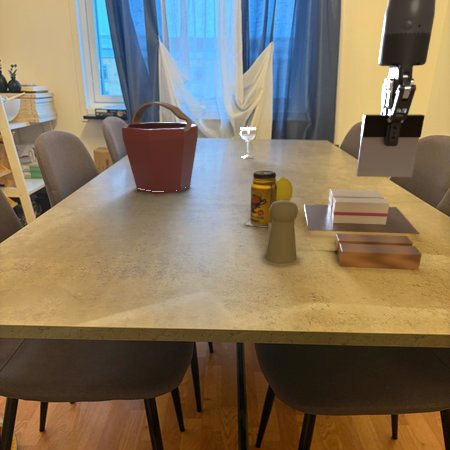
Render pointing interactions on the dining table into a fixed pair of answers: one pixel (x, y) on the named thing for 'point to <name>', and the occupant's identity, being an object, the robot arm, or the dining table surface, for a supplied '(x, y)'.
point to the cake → (352, 195)
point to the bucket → (161, 151)
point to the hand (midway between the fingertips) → (388, 144)
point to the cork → (282, 232)
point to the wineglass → (248, 137)
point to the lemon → (284, 189)
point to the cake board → (322, 221)
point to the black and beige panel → (388, 147)
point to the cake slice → (360, 211)
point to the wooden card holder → (376, 251)
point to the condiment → (262, 198)
